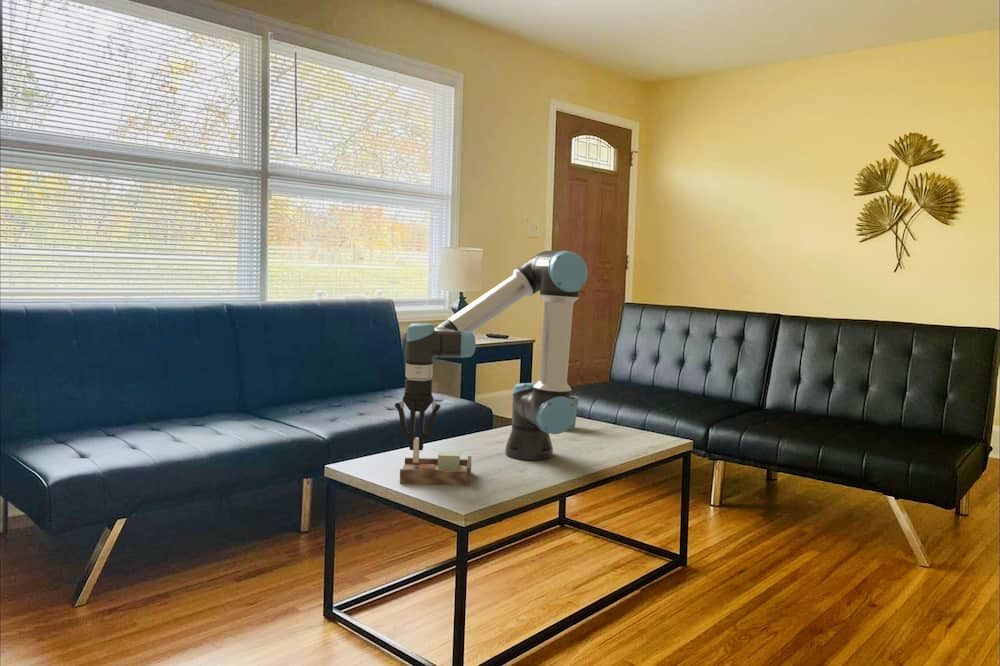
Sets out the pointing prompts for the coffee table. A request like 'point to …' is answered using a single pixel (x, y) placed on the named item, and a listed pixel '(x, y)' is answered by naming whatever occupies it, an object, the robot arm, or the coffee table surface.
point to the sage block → (448, 460)
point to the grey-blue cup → (575, 402)
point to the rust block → (427, 467)
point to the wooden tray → (435, 473)
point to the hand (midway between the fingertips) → (415, 461)
